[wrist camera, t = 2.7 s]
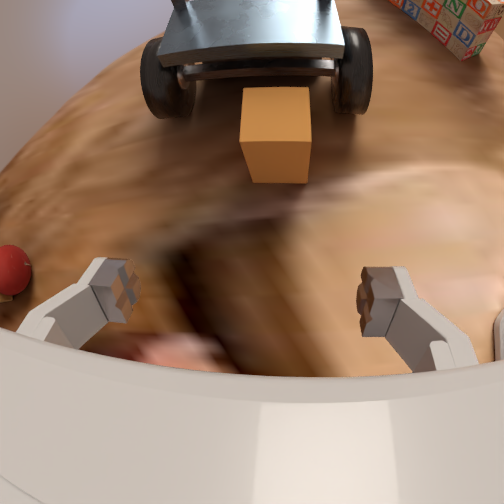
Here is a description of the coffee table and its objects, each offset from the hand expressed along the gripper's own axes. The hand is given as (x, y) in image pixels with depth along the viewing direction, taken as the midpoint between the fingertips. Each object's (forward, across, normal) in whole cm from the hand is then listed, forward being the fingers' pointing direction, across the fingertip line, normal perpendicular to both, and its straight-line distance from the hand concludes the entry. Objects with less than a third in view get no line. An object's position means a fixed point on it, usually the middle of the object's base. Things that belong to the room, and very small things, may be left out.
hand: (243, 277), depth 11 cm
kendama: (+12, +36, +14) cm, 40 cm away
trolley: (+26, +1, -3) cm, 26 cm away
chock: (+20, -1, +3) cm, 21 cm away
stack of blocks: (+40, -23, -17) cm, 49 cm away
